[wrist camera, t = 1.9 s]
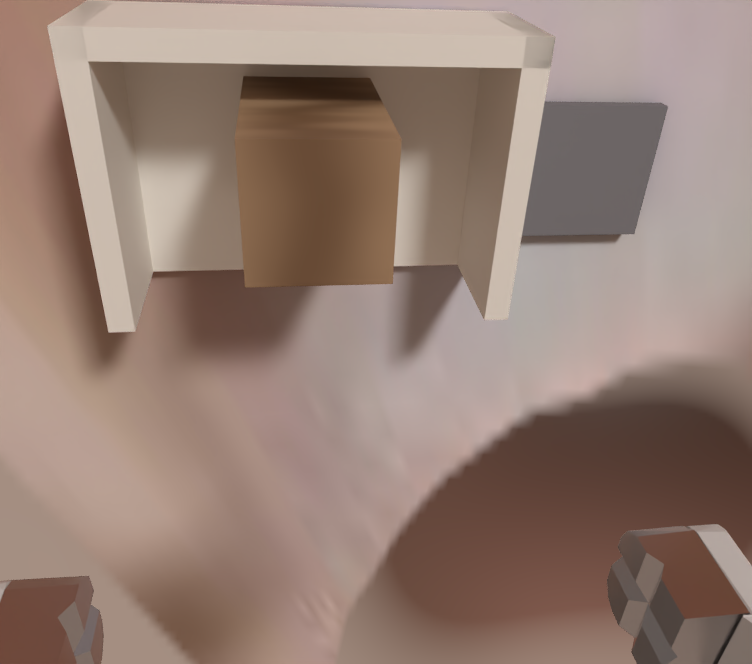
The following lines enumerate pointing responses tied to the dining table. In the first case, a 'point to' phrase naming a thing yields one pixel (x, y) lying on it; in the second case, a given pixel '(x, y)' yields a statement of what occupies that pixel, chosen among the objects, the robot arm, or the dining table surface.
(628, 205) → the coaster
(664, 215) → the dining table surface
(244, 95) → the block
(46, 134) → the dining table surface
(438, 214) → the box
